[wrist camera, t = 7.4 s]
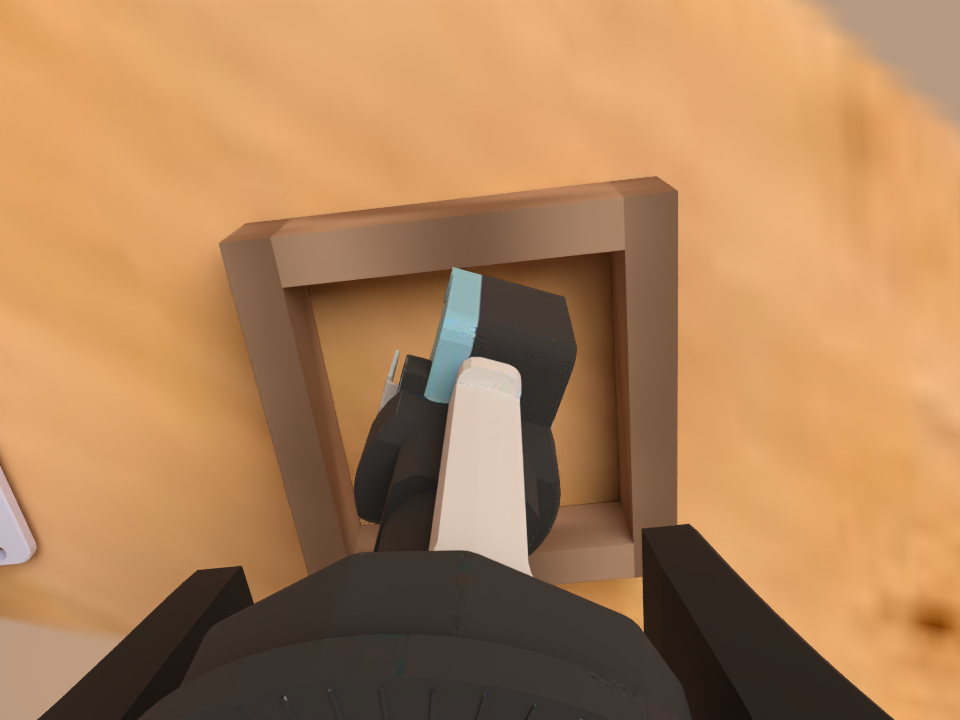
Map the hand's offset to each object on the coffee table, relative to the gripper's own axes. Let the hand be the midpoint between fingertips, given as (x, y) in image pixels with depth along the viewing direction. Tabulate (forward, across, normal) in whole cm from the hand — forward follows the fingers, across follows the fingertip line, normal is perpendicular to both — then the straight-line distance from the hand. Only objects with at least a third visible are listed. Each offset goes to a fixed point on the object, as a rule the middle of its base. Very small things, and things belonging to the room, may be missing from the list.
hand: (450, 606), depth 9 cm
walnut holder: (+10, 0, +2) cm, 11 cm away
